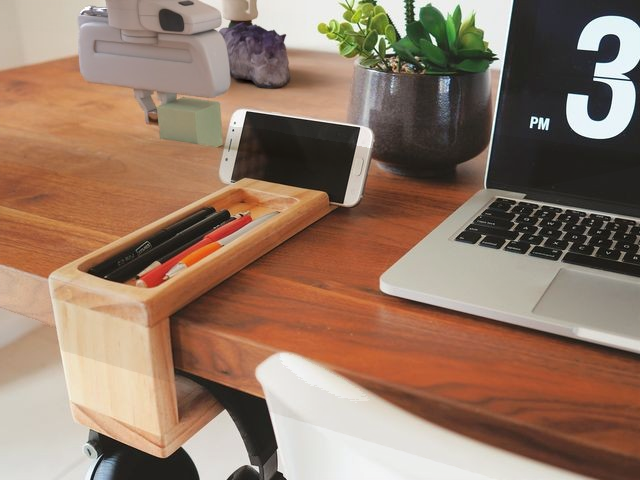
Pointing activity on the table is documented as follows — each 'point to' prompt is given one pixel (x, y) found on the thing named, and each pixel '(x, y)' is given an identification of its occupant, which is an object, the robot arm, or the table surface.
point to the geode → (257, 55)
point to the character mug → (239, 11)
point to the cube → (191, 121)
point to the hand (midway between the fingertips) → (158, 124)
